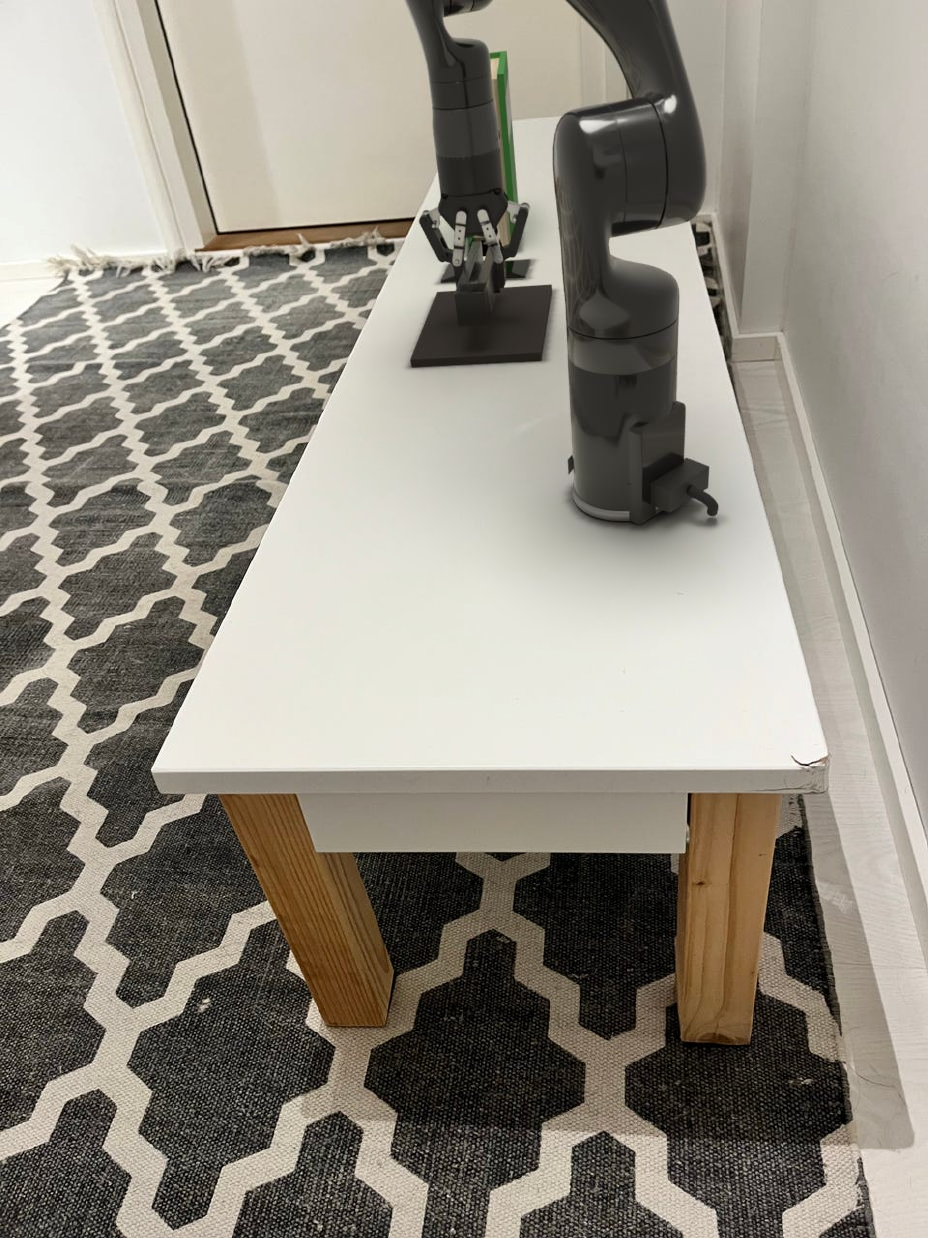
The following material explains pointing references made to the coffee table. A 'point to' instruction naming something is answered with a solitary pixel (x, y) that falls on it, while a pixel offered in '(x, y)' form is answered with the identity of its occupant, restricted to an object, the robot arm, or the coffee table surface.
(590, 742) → the coffee table surface
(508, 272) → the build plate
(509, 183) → the hardback book
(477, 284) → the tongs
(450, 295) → the mat
